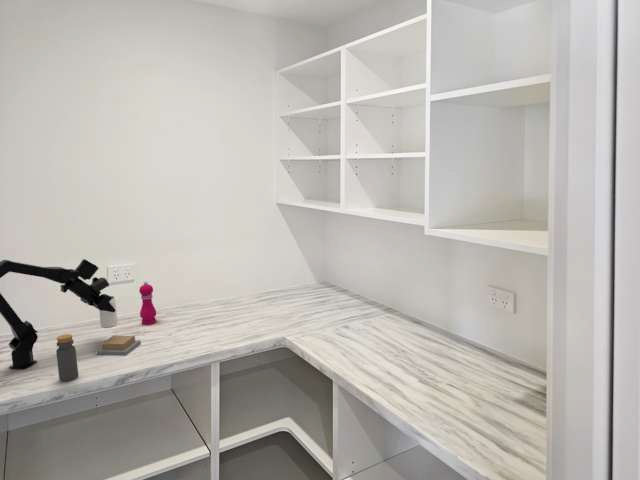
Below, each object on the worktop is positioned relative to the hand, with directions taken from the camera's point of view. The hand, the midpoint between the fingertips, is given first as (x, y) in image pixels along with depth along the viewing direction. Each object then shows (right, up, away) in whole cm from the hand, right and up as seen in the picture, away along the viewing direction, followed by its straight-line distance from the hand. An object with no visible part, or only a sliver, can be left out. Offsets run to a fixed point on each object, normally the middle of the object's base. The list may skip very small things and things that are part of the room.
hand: (111, 309), depth 194 cm
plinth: (+7, -15, -8) cm, 18 cm away
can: (-1, -7, 0) cm, 7 cm away
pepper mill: (+7, -10, +23) cm, 26 cm away
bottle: (+1, -19, -34) cm, 38 cm away
